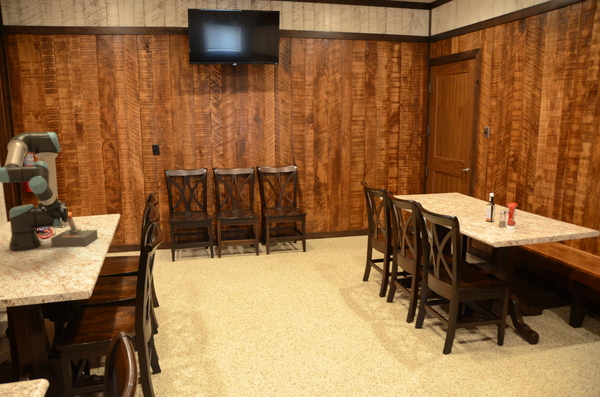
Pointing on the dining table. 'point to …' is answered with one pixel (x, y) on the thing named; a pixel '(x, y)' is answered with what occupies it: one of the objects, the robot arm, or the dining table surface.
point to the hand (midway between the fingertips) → (66, 224)
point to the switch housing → (74, 238)
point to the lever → (72, 223)
